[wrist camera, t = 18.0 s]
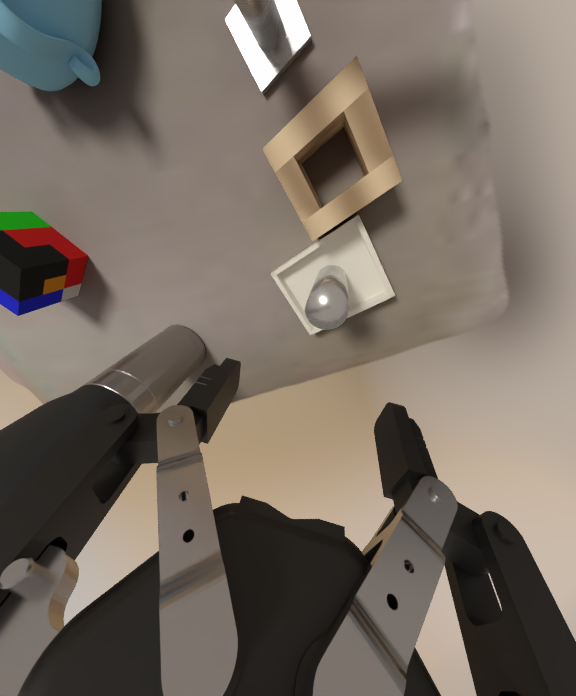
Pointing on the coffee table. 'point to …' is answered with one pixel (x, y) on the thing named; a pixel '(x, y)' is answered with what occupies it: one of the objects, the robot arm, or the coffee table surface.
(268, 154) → the block
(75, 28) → the decorative pot
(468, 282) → the coffee table surface
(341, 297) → the silver metal cylinder
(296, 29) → the pivot post
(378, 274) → the tray
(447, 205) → the coffee table surface
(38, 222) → the puzzle toy
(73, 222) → the coffee table surface
